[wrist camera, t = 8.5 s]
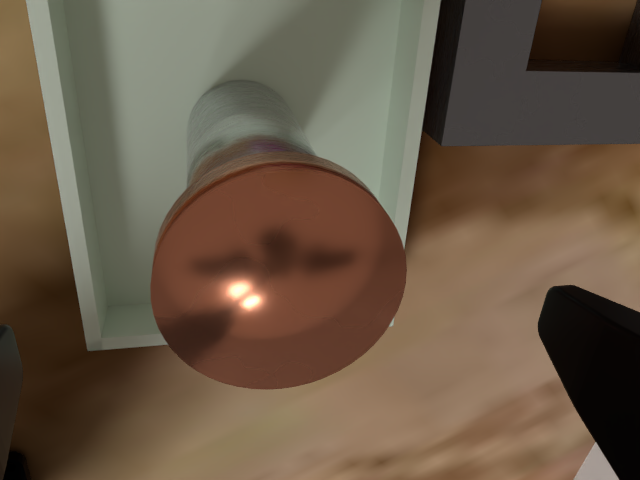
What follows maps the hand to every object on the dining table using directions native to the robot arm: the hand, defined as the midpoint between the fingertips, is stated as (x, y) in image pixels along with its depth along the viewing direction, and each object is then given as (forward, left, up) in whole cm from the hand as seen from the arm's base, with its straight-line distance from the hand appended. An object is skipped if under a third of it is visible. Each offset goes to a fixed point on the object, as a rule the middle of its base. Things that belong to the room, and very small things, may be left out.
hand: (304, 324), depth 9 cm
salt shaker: (0, 0, -11) cm, 11 cm away
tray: (0, 0, -11) cm, 11 cm away
